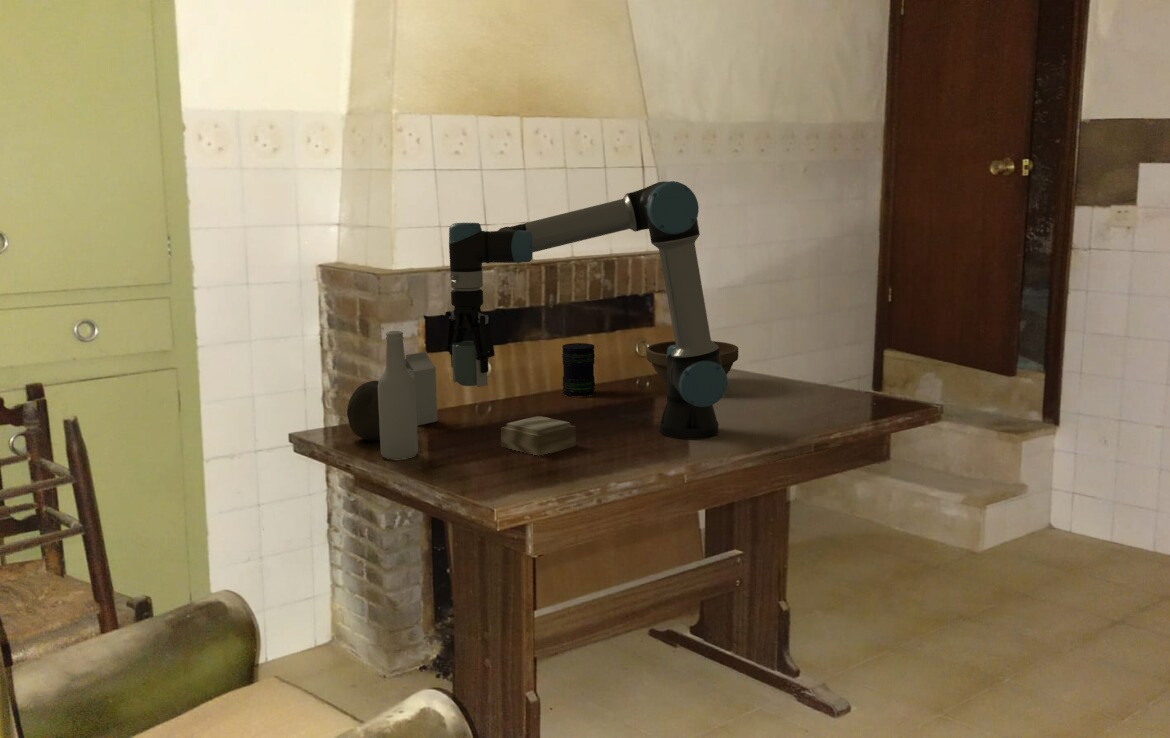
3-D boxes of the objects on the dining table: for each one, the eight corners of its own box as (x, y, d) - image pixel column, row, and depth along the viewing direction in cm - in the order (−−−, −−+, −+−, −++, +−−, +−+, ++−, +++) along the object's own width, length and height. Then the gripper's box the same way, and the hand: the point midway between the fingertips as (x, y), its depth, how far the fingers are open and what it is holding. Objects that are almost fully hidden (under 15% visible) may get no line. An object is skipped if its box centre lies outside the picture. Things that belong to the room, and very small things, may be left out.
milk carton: (437, 421, 286) (435, 352, 282) (416, 426, 281) (414, 356, 277) (421, 417, 291) (418, 350, 287) (400, 422, 286) (397, 353, 282)
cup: (480, 388, 247) (479, 346, 246) (449, 387, 249) (447, 345, 247) (490, 381, 255) (489, 341, 253) (459, 381, 257) (458, 340, 255)
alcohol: (411, 461, 247) (406, 335, 241) (375, 460, 248) (369, 334, 243) (422, 451, 255) (418, 329, 250) (388, 450, 257) (383, 328, 251)
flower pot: (670, 401, 309) (670, 357, 306) (631, 383, 335) (631, 343, 333) (755, 393, 319) (755, 350, 317) (710, 377, 345) (711, 337, 343)
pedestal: (575, 446, 260) (575, 422, 258) (538, 456, 250) (538, 432, 249) (538, 437, 268) (538, 414, 267) (501, 447, 259) (500, 423, 258)
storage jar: (594, 397, 315) (594, 348, 312) (562, 397, 315) (561, 348, 312) (595, 390, 325) (594, 342, 322) (563, 390, 325) (562, 343, 322)
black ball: (371, 449, 258) (369, 389, 255) (337, 440, 267) (334, 382, 264) (416, 438, 268) (414, 380, 265) (382, 430, 277) (380, 374, 274)
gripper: (426, 287, 252) (430, 380, 256) (484, 293, 238) (487, 391, 242) (450, 284, 257) (453, 376, 262) (508, 290, 244) (511, 386, 248)
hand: (470, 383), depth 252 cm, fingers closed on cup, 8 cm apart
